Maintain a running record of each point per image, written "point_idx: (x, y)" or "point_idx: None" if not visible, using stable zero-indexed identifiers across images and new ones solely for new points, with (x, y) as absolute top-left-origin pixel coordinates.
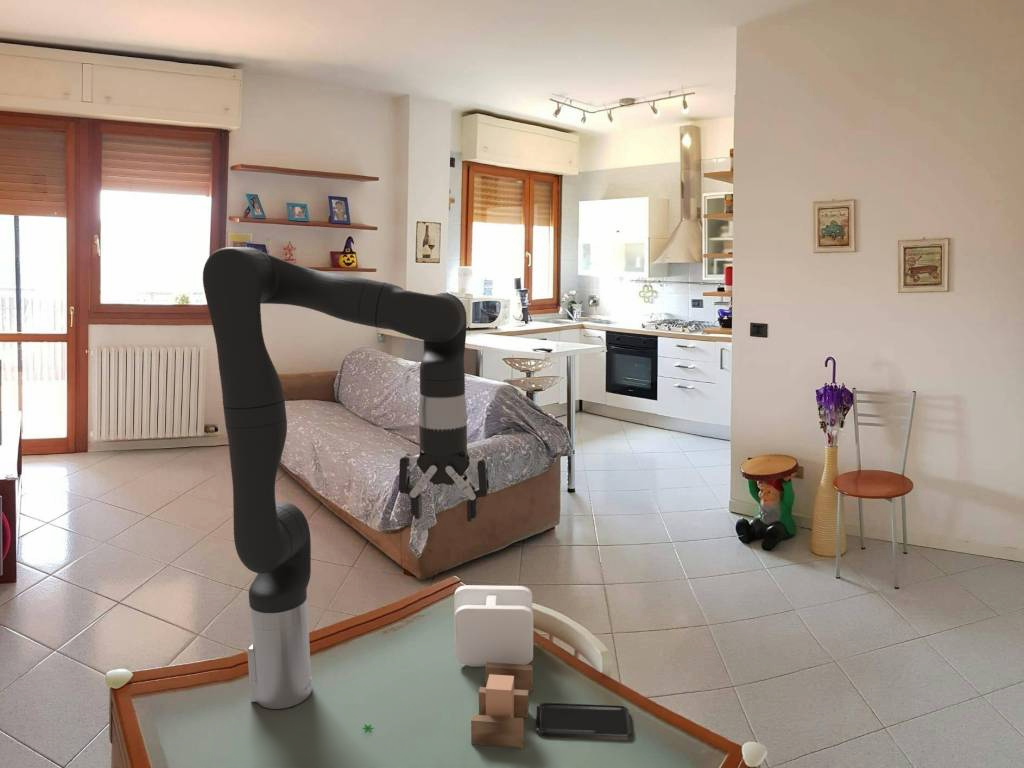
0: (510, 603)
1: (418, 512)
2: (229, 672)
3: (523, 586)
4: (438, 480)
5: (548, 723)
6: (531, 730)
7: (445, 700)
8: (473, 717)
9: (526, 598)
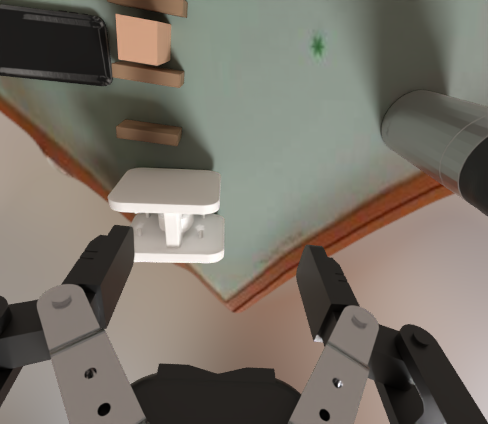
0: (150, 239)
1: (315, 258)
2: None
3: None
4: (243, 393)
5: (89, 38)
6: (113, 31)
7: (227, 103)
8: (180, 8)
9: None
